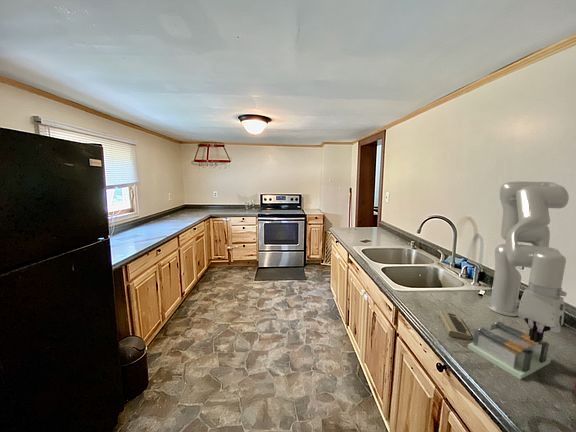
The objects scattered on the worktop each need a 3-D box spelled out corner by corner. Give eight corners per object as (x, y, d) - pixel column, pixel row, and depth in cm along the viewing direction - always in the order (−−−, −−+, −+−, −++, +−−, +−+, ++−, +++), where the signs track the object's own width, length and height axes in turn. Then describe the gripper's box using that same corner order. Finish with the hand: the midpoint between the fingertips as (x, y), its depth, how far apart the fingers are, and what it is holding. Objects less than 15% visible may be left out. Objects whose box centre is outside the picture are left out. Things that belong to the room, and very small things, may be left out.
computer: (472, 341, 99) (473, 333, 99) (448, 337, 102) (449, 329, 101) (458, 319, 114) (459, 312, 114) (437, 316, 116) (438, 309, 116)
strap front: (481, 330, 95) (481, 327, 95) (527, 351, 82) (527, 348, 82) (477, 331, 94) (477, 328, 94) (522, 353, 81) (523, 350, 81)
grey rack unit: (497, 334, 100) (500, 318, 99) (549, 359, 87) (552, 342, 86) (471, 344, 94) (473, 328, 93) (522, 374, 80) (525, 355, 79)
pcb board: (496, 335, 102) (497, 332, 101) (550, 363, 87) (551, 359, 87) (467, 347, 95) (468, 344, 94) (520, 379, 80) (520, 375, 80)
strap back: (497, 323, 99) (498, 321, 99) (543, 343, 86) (544, 340, 86) (493, 325, 98) (494, 322, 98) (539, 345, 85) (540, 342, 85)
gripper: (581, 297, 79) (571, 351, 82) (522, 279, 92) (515, 326, 95) (569, 301, 76) (559, 357, 79) (510, 282, 90) (503, 330, 92)
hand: (535, 340), depth 87 cm, fingers closed
